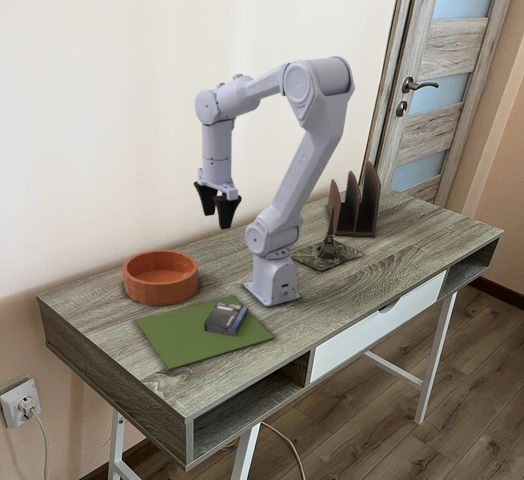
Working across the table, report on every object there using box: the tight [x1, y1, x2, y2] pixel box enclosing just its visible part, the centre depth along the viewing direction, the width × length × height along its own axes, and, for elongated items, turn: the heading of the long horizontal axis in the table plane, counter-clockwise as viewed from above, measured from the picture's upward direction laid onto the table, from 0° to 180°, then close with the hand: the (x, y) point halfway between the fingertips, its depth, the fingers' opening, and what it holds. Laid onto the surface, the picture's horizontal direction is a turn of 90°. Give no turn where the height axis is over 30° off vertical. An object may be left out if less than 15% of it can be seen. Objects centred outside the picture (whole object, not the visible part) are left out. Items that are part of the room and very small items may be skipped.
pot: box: [122, 249, 199, 306], centre depth 106 cm, size 15×15×5 cm
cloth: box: [135, 295, 275, 371], centre depth 96 cm, size 16×20×1 cm
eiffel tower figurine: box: [290, 205, 364, 271], centre depth 118 cm, size 15×10×13 cm
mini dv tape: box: [204, 301, 249, 336], centre depth 98 cm, size 8×2×6 cm
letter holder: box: [327, 159, 382, 238], centre depth 135 cm, size 10×20×14 cm, turn 0°
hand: (217, 221), depth 112 cm, fingers open, 7 cm apart
